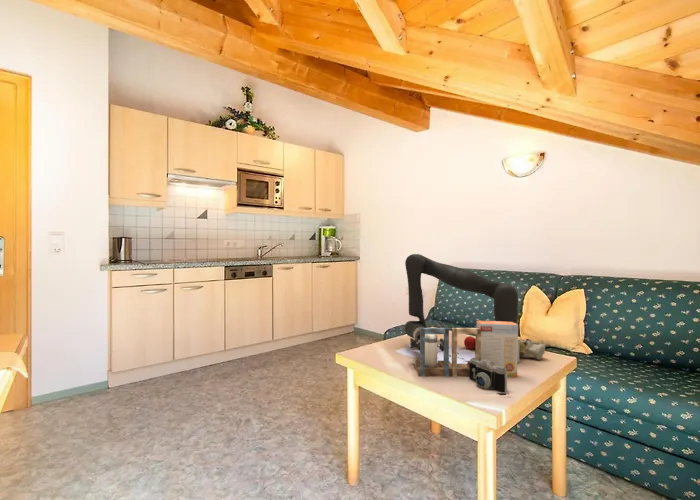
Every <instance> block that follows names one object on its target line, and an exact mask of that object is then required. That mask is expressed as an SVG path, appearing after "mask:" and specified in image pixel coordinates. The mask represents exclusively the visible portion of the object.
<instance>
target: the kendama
mask: <svg viewBox="0 0 700 500" xmlns="http://www.w3.org/2000/svg"><path fill="white" fill-rule="evenodd" d="M463 343H464V347H465V348H466V349H468V350H475V348H476V337H474V336H471V335H469V336H467V337H465V338H464V340H463Z"/></svg>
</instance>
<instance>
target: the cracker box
mask: <svg viewBox="0 0 700 500" xmlns="http://www.w3.org/2000/svg"><path fill="white" fill-rule="evenodd" d="M476 328H480V329H481V360H490V361H493V362H494V363H495V364H496V365H497V366H503V367H505V368H506V369H507V378H518V363H517V361H518V340H519V324H518V325H517V324H515V323H514V322H503V321H494V320H476Z"/></svg>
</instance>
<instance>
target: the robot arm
mask: <svg viewBox="0 0 700 500" xmlns="http://www.w3.org/2000/svg"><path fill="white" fill-rule="evenodd" d="M404 263H405V264H404V265H405V271H406V275H407V285H408V315H409V316H411V317H414V318H418V320H409V321H407V322H406V323H405V324H404V331H405V334H406V335H407V336H408V337H409V345H410V348H411V349H415V348H416V350H418V351H419V352H420V328H428V326H427V322H426V320H425V313H424V294H423V290H422V285H421V284H422V274H423V275H426V276H430V277H434V279H435V278H436V279H438V281H440V282H443V283H444V284H446V285H448V286H450V287H453V288H456V289H459V290H462V291H466V292H471V293H475V294H476V293H477V294H481V295H484V296H487V297H489V298H492V299H493V315H494V316H493V317H494V320H493V321H503V322H514V323H515V324H517V325H518V326H519V324H518V323H519V322H518V321H519V320H518V318H519V317H518V316H519V315H518V310H519V293H518V290H517V288H516V286H513V285H512V284H509V283H504V282H500V281H496V280H492V279H489V278H487V277H483V276H482V275H479V274H477V273H474V272H472V271H469V270H466V269H464V268H461V267H457V266H453V265H450V264H446V263H441V262H438V261H435V260H433V259H430V258H428V257H426V256H424V255H422V254H419V253H417V254H416V253H412V254H410V255H408V256H406V259H405V262H404ZM519 342H520V340H519V339H518V361H517V364H518V363H520V357H519ZM437 349H439V350H440V351H441V352H444V338H439V339H437Z"/></svg>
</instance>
